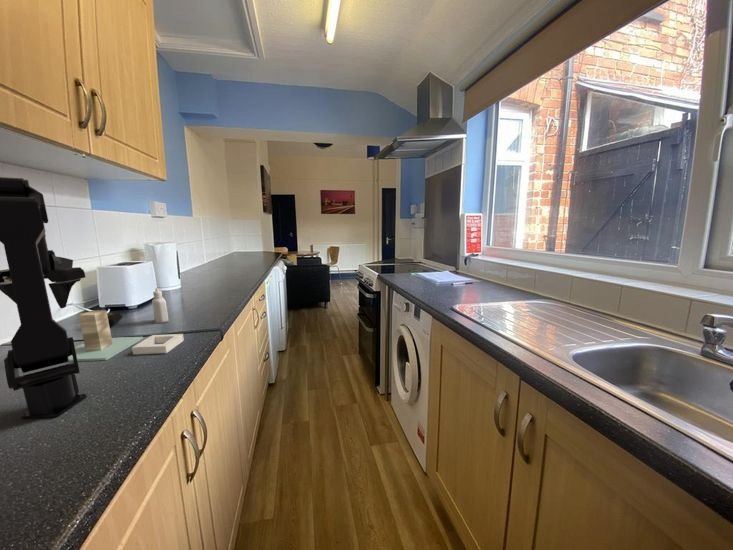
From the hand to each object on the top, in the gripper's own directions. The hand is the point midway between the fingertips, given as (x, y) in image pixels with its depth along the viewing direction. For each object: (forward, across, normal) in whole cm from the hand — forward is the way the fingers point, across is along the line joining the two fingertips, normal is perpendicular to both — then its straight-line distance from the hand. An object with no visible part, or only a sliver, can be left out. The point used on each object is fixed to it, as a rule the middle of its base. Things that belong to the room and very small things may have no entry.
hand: (44, 308), depth 77 cm
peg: (+12, -9, -3) cm, 16 cm away
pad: (+13, -9, -3) cm, 16 cm away
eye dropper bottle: (+13, -12, -26) cm, 32 cm away
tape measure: (+13, +4, -24) cm, 28 cm away
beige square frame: (+13, -25, -3) cm, 28 cm away
